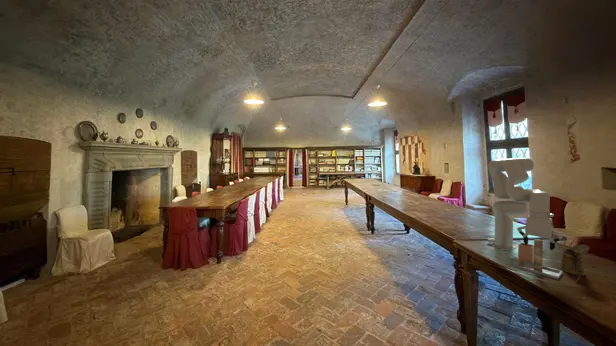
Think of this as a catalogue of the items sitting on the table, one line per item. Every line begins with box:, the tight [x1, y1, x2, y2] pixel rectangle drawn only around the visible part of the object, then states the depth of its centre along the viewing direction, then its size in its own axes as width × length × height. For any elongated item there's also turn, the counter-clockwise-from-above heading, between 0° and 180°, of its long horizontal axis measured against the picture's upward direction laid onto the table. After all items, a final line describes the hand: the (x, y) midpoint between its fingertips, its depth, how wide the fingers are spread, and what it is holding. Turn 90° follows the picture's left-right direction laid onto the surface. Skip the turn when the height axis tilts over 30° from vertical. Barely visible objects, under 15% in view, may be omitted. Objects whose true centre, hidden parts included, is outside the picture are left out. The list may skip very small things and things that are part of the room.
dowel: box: [533, 238, 544, 271], centre depth 121 cm, size 3×3×16 cm
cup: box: [517, 242, 534, 263], centre depth 132 cm, size 6×6×10 cm
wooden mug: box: [558, 243, 591, 277], centre depth 117 cm, size 9×14×18 cm, turn 154°
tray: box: [514, 260, 564, 280], centre depth 121 cm, size 16×10×2 cm, turn 33°
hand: (538, 246), depth 120 cm, fingers open, 9 cm apart
